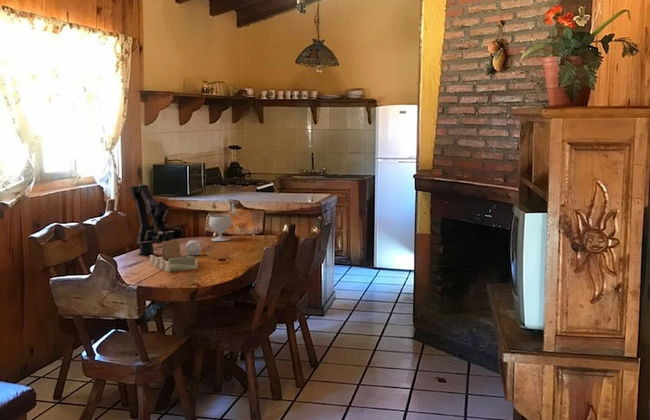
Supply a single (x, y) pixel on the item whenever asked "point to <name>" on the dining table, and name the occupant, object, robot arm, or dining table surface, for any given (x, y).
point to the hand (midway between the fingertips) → (168, 247)
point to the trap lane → (174, 263)
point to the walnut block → (170, 250)
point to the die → (193, 248)
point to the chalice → (220, 225)
